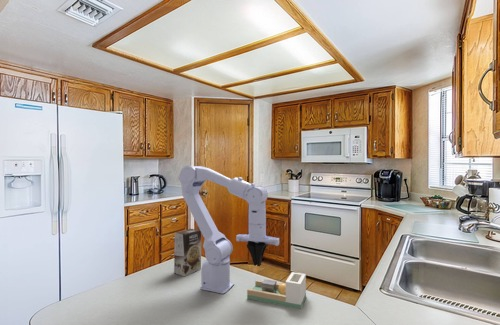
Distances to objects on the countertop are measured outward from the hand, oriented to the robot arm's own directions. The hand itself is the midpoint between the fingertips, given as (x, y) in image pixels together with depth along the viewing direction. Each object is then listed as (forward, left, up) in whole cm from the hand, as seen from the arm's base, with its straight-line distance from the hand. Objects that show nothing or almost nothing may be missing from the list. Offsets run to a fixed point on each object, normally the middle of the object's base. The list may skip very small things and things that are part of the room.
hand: (257, 264), depth 86 cm
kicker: (+4, 0, -8) cm, 9 cm away
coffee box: (-33, +8, -10) cm, 35 cm away
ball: (+9, 0, -6) cm, 11 cm away
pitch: (+6, 0, -9) cm, 11 cm away
